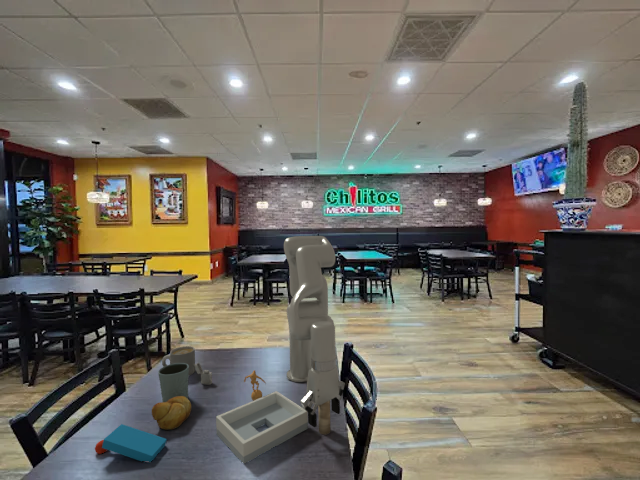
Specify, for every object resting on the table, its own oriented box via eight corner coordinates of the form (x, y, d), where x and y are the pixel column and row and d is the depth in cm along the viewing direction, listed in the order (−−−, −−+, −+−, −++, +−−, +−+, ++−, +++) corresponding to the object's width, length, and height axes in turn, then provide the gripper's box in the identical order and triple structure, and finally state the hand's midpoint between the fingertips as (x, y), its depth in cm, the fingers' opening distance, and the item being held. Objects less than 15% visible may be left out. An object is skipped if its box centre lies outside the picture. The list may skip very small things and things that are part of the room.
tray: (276, 406, 111) (276, 391, 110) (307, 428, 98) (307, 411, 98) (216, 434, 96) (216, 416, 96) (243, 464, 83) (243, 443, 83)
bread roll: (176, 408, 111) (176, 385, 111) (201, 411, 108) (200, 388, 108) (148, 430, 98) (147, 405, 98) (175, 435, 96) (174, 409, 96)
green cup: (194, 399, 116) (193, 367, 116) (166, 411, 109) (164, 377, 108) (182, 390, 123) (181, 360, 123) (155, 401, 116) (153, 368, 115)
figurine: (269, 399, 116) (268, 366, 115) (263, 408, 110) (262, 374, 109) (248, 397, 117) (247, 365, 117) (241, 405, 111) (240, 372, 111)
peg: (324, 425, 99) (324, 394, 99) (332, 431, 96) (332, 398, 96) (316, 430, 97) (315, 398, 96) (324, 436, 94) (323, 403, 94)
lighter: (212, 382, 129) (211, 363, 129) (209, 384, 127) (209, 365, 127) (197, 381, 131) (196, 362, 130) (194, 383, 129) (193, 363, 129)
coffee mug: (199, 367, 144) (198, 346, 143) (189, 377, 134) (188, 354, 134) (170, 367, 144) (169, 346, 144) (158, 377, 134) (157, 354, 134)
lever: (161, 461, 92) (104, 442, 93) (166, 439, 91) (110, 420, 93) (146, 480, 85) (85, 459, 86) (152, 455, 84) (91, 435, 86)
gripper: (334, 352, 105) (335, 403, 105) (293, 367, 93) (294, 424, 93) (351, 358, 99) (352, 412, 99) (309, 376, 87) (310, 436, 88)
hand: (324, 418), depth 96 cm, fingers open, 9 cm apart
